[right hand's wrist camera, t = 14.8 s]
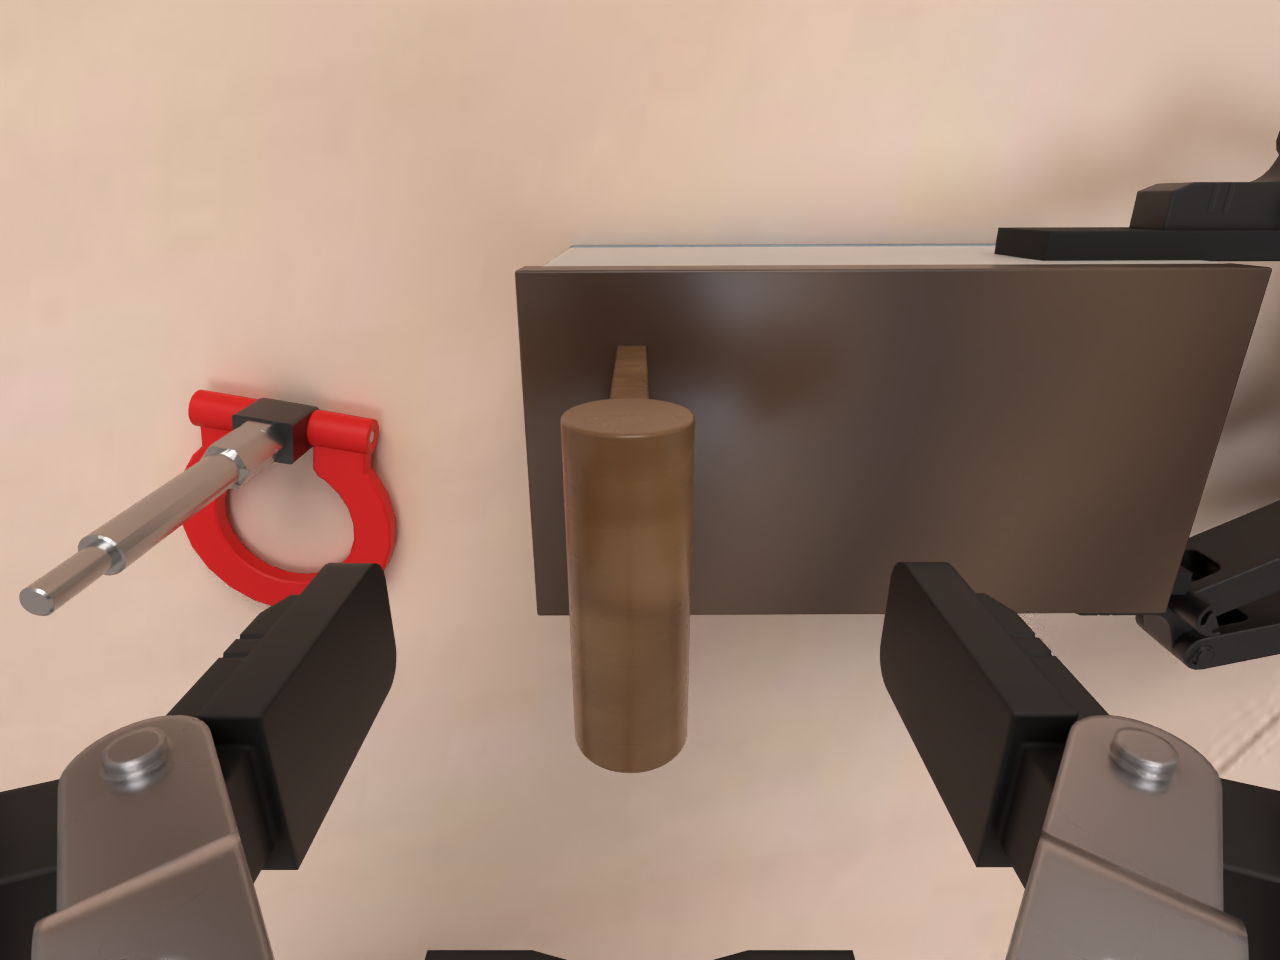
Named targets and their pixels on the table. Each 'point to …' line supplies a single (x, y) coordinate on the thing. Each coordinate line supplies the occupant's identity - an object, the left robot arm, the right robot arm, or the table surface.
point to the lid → (855, 448)
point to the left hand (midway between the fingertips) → (987, 418)
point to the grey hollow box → (805, 255)
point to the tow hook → (228, 459)
